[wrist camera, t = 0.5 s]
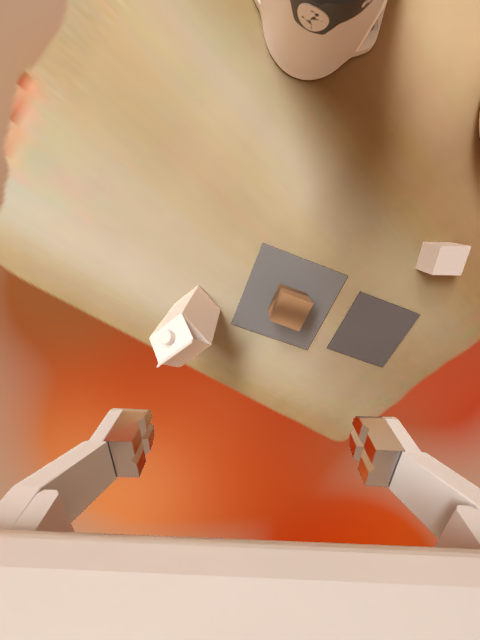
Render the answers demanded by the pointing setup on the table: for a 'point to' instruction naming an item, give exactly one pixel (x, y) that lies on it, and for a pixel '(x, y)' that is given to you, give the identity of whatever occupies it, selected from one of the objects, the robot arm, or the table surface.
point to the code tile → (297, 275)
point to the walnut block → (289, 307)
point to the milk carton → (185, 329)
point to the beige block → (442, 258)
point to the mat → (372, 329)
